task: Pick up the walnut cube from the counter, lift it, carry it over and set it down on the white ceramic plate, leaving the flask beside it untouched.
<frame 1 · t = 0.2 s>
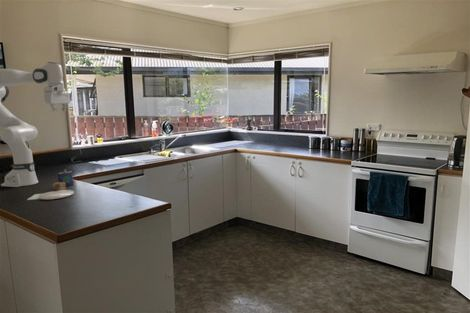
hand: (59, 110, 228), 47 cm above the worktop, tool pointing down, fingers open, 8 cm apart
block: (59, 191, 217), on the worktop
flask: (66, 186, 229), on the worktop
napkin: (38, 196, 205), on the worktop
plate: (56, 196, 205), on the worktop
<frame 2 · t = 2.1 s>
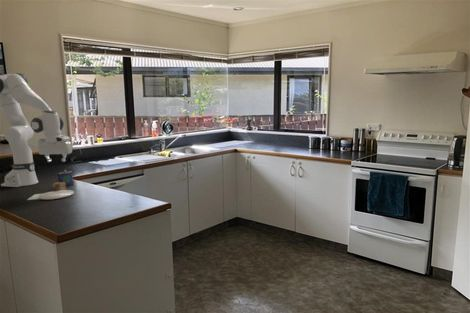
hand: (56, 161, 214), 18 cm above the worktop, tool pointing down, fingers open, 8 cm apart
nothing on the worktop moved.
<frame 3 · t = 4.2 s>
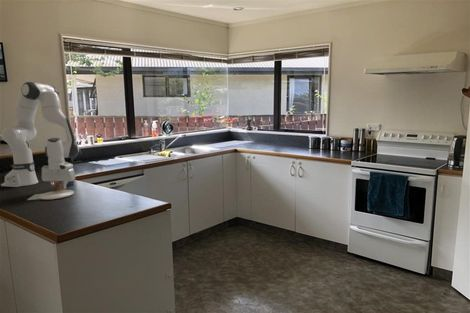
hand: (59, 188, 217), 2 cm above the worktop, tool pointing down, fingers closed on block, 5 cm apart
block: (59, 191, 217), on the worktop, touching gripper
everything else where it was.
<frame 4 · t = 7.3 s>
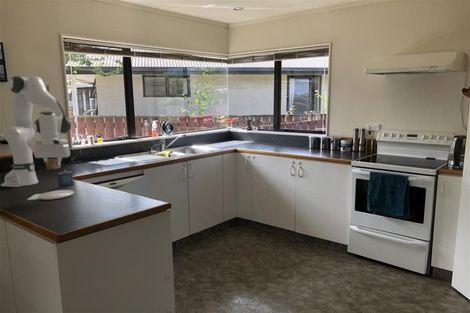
hand: (53, 165, 202), 18 cm above the worktop, tool pointing down, fingers closed on block, 5 cm apart
block: (53, 168, 203), point 16 cm above the worktop, touching gripper
everything else where it was.
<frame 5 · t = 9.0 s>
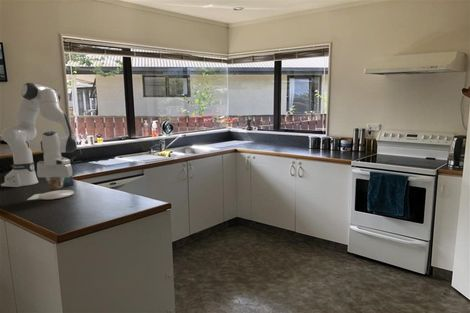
hand: (56, 184, 204), 6 cm above the worktop, tool pointing down, fingers closed on block, 5 cm apart
block: (56, 187, 204), point 5 cm above the worktop, touching gripper
everything else where it was.
when the fingers open (4 cm above the worktop, at t = 10.4 s): block drops 1 cm, resting on plate.
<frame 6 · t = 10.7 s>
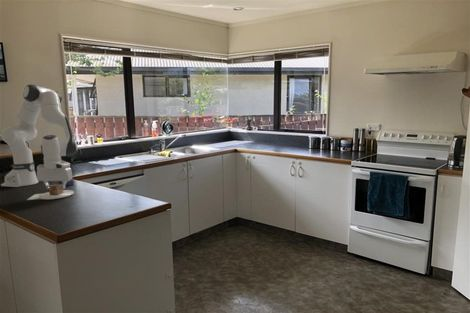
hand: (55, 188, 204), 4 cm above the worktop, tool pointing down, fingers open, 8 cm apart
block: (56, 193, 205), point 1 cm above the worktop, touching plate
everything else where it was.
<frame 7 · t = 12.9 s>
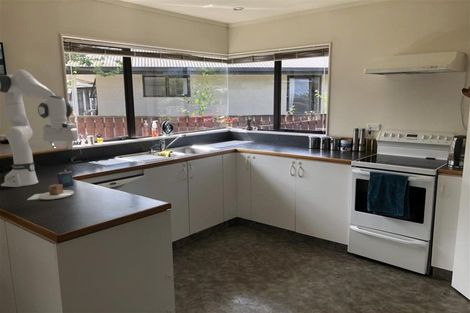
hand: (61, 148, 207), 26 cm above the worktop, tool pointing down, fingers open, 8 cm apart
nothing on the worktop moved.
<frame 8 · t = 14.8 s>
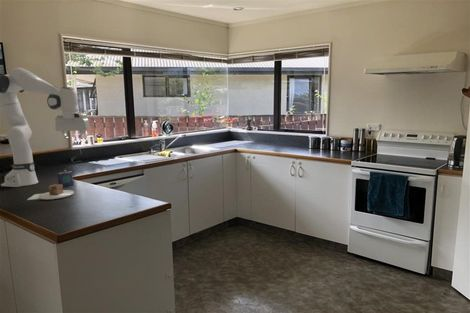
hand: (73, 138, 214), 31 cm above the worktop, tool pointing down, fingers open, 8 cm apart
nothing on the worktop moved.
at the end: block 0.1 cm from the plate (horizontally); block point 1.2 cm above the worktop; the gripper is holding nothing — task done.
